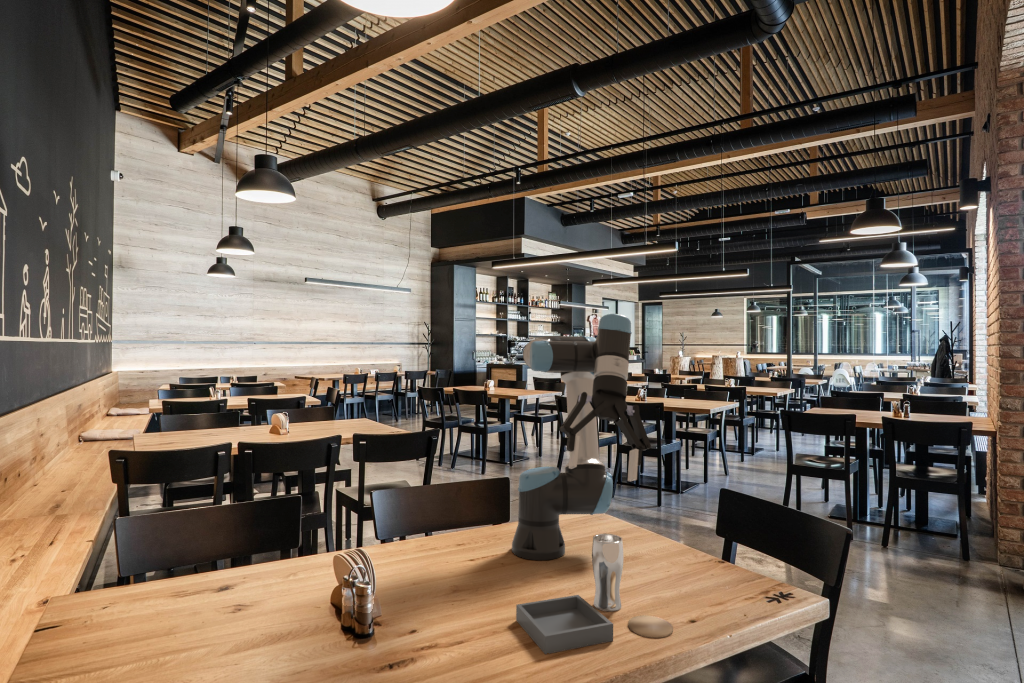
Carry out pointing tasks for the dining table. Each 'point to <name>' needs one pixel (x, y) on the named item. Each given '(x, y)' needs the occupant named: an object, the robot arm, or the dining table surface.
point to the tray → (563, 623)
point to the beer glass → (607, 570)
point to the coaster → (650, 626)
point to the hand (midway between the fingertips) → (602, 474)
